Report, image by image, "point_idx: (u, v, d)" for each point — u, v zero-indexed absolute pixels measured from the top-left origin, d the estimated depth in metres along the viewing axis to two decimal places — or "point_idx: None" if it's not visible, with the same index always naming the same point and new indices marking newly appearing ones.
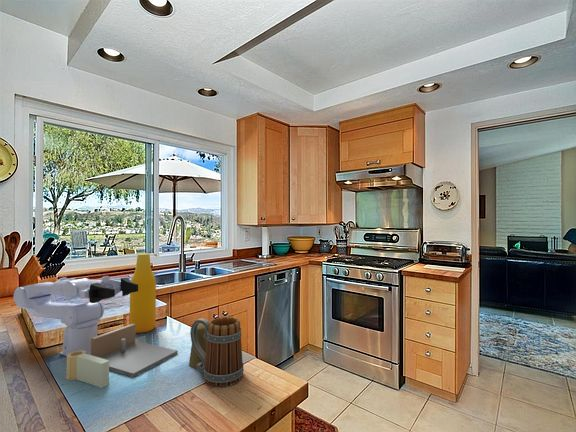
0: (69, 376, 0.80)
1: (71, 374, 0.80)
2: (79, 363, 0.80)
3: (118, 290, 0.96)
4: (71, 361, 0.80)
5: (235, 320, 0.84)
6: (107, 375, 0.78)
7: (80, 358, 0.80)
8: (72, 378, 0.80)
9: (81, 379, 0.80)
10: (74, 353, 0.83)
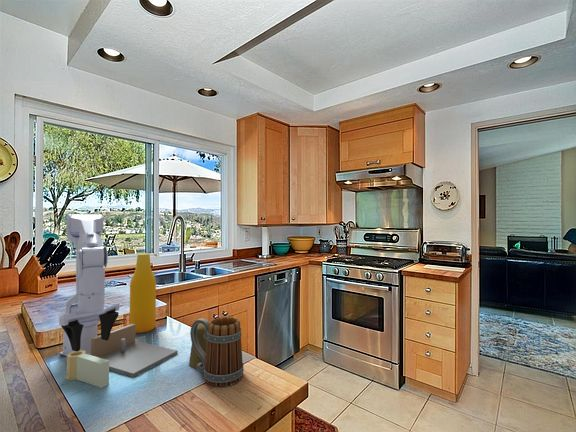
0: (69, 376, 0.80)
1: (71, 374, 0.80)
2: (79, 363, 0.80)
3: None
4: (71, 361, 0.80)
5: (235, 320, 0.84)
6: (107, 375, 0.78)
7: (80, 358, 0.80)
8: (72, 378, 0.80)
9: (81, 379, 0.80)
10: (74, 353, 0.83)
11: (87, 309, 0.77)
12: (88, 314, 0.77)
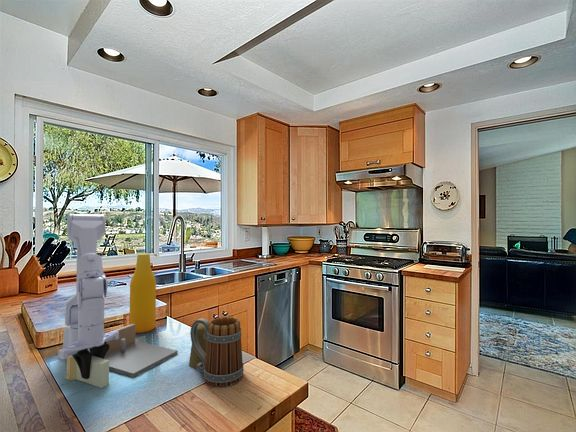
0: (69, 376, 0.80)
1: (71, 374, 0.80)
2: None
3: None
4: (71, 361, 0.80)
5: (235, 320, 0.84)
6: (107, 375, 0.78)
7: None
8: (72, 378, 0.80)
9: (81, 379, 0.80)
10: None
11: (87, 341, 0.77)
12: (87, 346, 0.77)
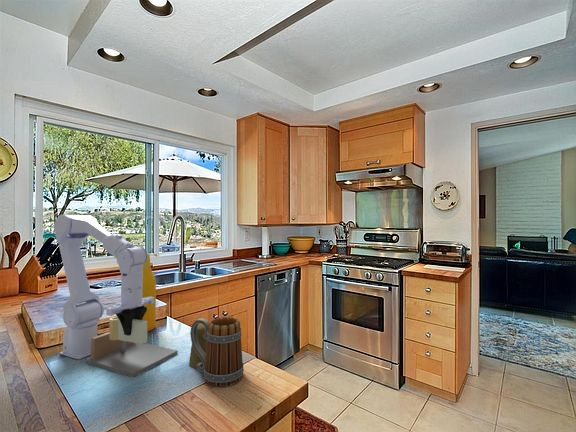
0: (112, 337, 0.91)
1: (113, 335, 0.91)
2: (120, 325, 0.91)
3: None
4: (113, 323, 0.91)
5: (235, 320, 0.84)
6: (145, 333, 0.89)
7: None
8: (114, 338, 0.91)
9: (123, 339, 0.91)
10: (115, 318, 0.94)
11: (129, 302, 0.88)
12: (130, 306, 0.88)
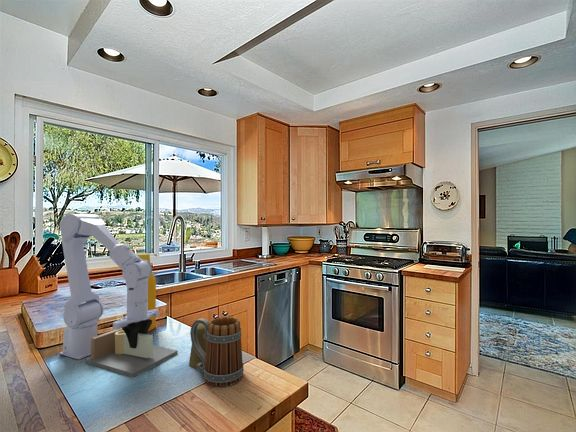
0: (118, 351, 0.93)
1: (119, 349, 0.93)
2: (126, 340, 0.93)
3: None
4: (119, 338, 0.93)
5: (235, 320, 0.84)
6: (151, 347, 0.91)
7: None
8: (120, 353, 0.93)
9: (128, 353, 0.92)
10: (120, 332, 0.96)
11: (135, 315, 0.90)
12: (136, 320, 0.90)
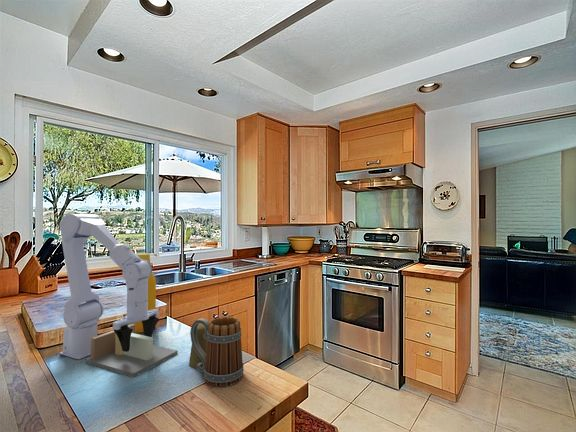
0: (118, 351, 0.93)
1: (119, 350, 0.93)
2: None
3: None
4: None
5: (235, 320, 0.84)
6: (151, 349, 0.91)
7: None
8: (120, 353, 0.93)
9: (128, 354, 0.92)
10: None
11: (135, 315, 0.90)
12: (136, 320, 0.90)
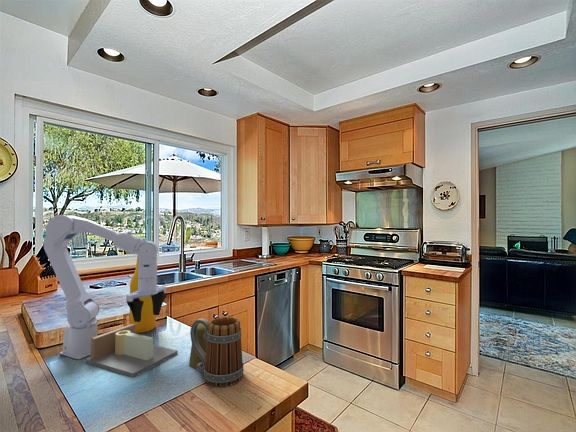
0: (118, 351, 0.93)
1: (119, 350, 0.93)
2: (127, 341, 0.93)
3: None
4: (119, 338, 0.93)
5: (235, 320, 0.84)
6: (151, 349, 0.91)
7: (127, 336, 0.93)
8: (120, 353, 0.93)
9: (128, 354, 0.92)
10: (121, 332, 0.96)
11: (145, 290, 0.99)
12: (146, 293, 0.99)
